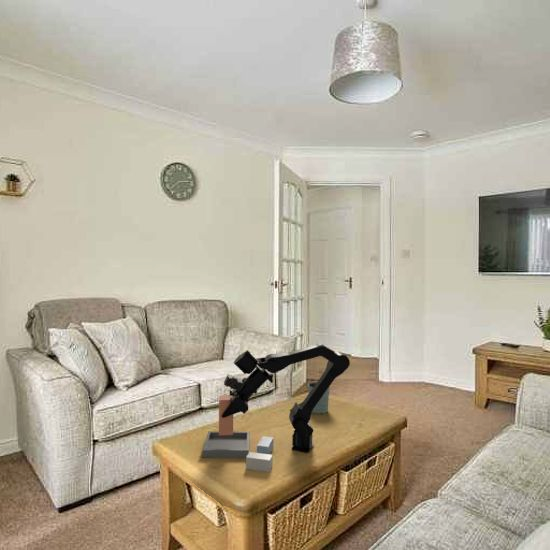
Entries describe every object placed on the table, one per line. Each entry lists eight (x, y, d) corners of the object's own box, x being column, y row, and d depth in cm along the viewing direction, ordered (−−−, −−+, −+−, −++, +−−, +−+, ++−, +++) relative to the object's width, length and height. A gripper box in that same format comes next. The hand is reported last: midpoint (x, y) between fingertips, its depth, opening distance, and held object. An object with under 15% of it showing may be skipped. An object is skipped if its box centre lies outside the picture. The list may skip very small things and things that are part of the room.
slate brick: (262, 446, 149) (263, 436, 149) (273, 448, 148) (273, 437, 148) (256, 456, 141) (257, 445, 141) (267, 458, 140) (268, 446, 140)
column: (232, 429, 147) (232, 395, 147) (233, 434, 142) (233, 399, 142) (218, 429, 147) (219, 395, 146) (218, 435, 142) (219, 400, 141)
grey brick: (272, 466, 134) (272, 454, 134) (269, 472, 131) (269, 460, 130) (249, 463, 136) (249, 451, 136) (245, 469, 132) (246, 457, 132)
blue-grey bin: (323, 416, 181) (323, 389, 181) (303, 411, 186) (303, 385, 186) (332, 409, 189) (333, 384, 189) (313, 405, 195) (314, 380, 195)
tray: (249, 438, 156) (249, 431, 156) (248, 457, 140) (248, 450, 140) (208, 438, 155) (208, 431, 155) (202, 457, 139) (202, 450, 139)
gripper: (236, 361, 154) (206, 390, 153) (238, 374, 135) (205, 408, 134) (256, 381, 155) (227, 410, 154) (261, 396, 137) (228, 430, 135)
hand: (222, 414), depth 144 cm, fingers closed on column, 5 cm apart
